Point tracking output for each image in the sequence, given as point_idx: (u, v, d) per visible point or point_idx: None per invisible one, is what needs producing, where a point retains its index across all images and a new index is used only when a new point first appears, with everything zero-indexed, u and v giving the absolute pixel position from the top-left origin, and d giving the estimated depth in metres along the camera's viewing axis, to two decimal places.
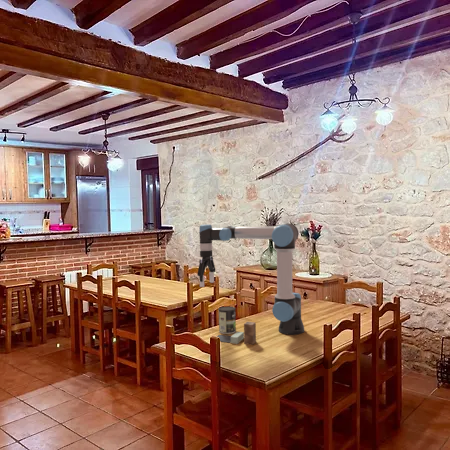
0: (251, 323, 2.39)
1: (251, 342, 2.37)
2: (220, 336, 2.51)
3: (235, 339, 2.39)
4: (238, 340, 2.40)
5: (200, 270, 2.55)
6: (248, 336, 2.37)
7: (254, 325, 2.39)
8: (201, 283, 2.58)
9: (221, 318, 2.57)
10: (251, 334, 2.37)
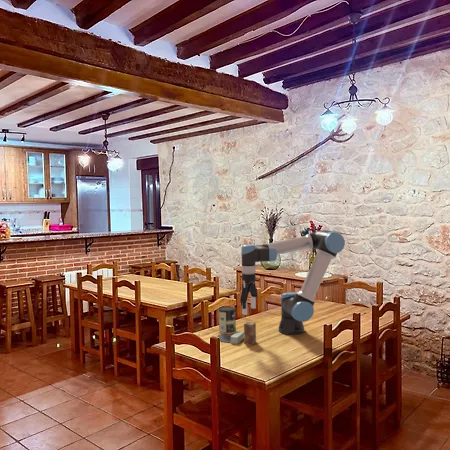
0: (251, 323, 2.39)
1: (251, 342, 2.37)
2: (220, 336, 2.51)
3: (235, 339, 2.39)
4: (238, 340, 2.40)
5: (243, 296, 2.30)
6: (248, 336, 2.37)
7: (254, 325, 2.39)
8: (244, 310, 2.32)
9: (221, 318, 2.57)
10: (251, 334, 2.37)
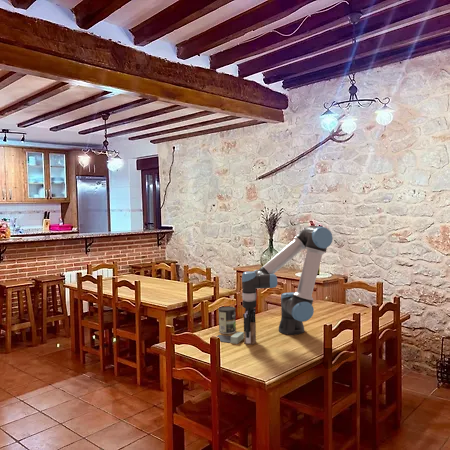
0: (251, 323, 2.39)
1: (251, 342, 2.37)
2: (220, 336, 2.51)
3: (235, 339, 2.39)
4: (238, 340, 2.40)
5: (246, 326, 2.33)
6: None
7: (254, 325, 2.39)
8: (247, 339, 2.37)
9: (221, 318, 2.57)
10: (251, 334, 2.37)
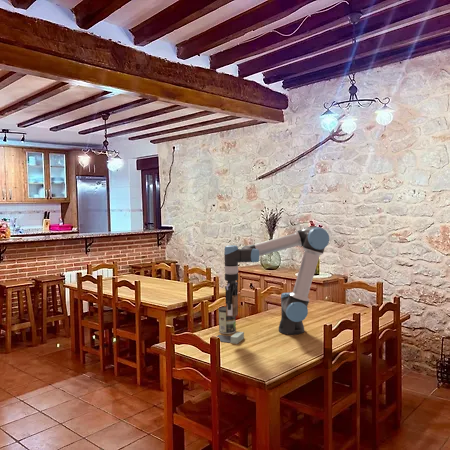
0: (233, 296, 2.43)
1: (233, 314, 2.41)
2: (220, 336, 2.51)
3: (235, 339, 2.39)
4: (238, 340, 2.40)
5: (228, 298, 2.38)
6: None
7: (236, 298, 2.43)
8: (229, 311, 2.41)
9: (221, 318, 2.57)
10: (233, 306, 2.41)
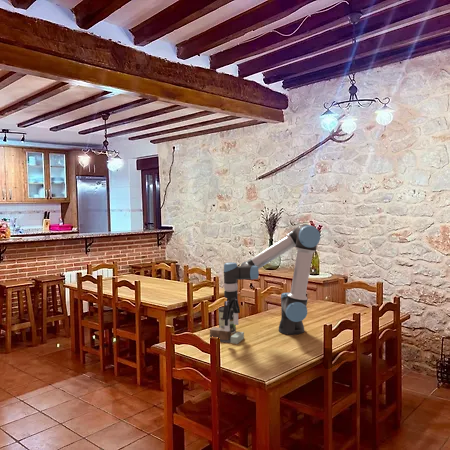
0: None
1: (225, 332, 2.44)
2: None
3: (235, 339, 2.39)
4: (238, 340, 2.40)
5: (225, 313, 2.36)
6: (220, 335, 2.45)
7: (214, 328, 2.50)
8: (226, 327, 2.38)
9: (221, 318, 2.57)
10: (218, 331, 2.46)
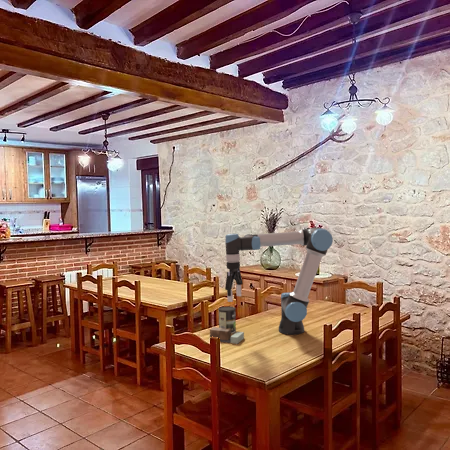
0: None
1: (225, 332, 2.44)
2: None
3: (235, 339, 2.39)
4: (238, 340, 2.40)
5: (228, 284, 2.35)
6: (220, 335, 2.45)
7: (214, 328, 2.50)
8: (229, 298, 2.38)
9: (221, 318, 2.57)
10: (218, 331, 2.46)
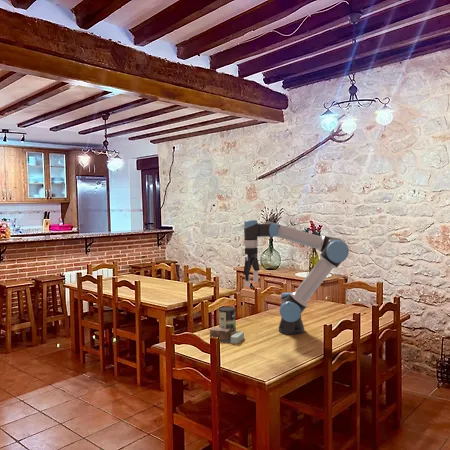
0: None
1: (225, 332, 2.44)
2: None
3: (235, 339, 2.39)
4: (238, 340, 2.40)
5: (246, 268, 2.39)
6: (220, 335, 2.45)
7: (214, 328, 2.50)
8: (247, 282, 2.41)
9: (221, 318, 2.57)
10: (218, 331, 2.46)
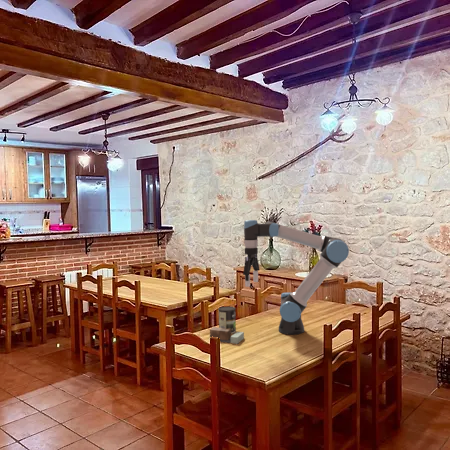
0: None
1: (225, 332, 2.44)
2: None
3: (235, 339, 2.39)
4: (238, 340, 2.40)
5: (246, 268, 2.39)
6: (220, 335, 2.45)
7: (214, 328, 2.50)
8: (247, 282, 2.41)
9: (221, 318, 2.57)
10: (218, 331, 2.46)
